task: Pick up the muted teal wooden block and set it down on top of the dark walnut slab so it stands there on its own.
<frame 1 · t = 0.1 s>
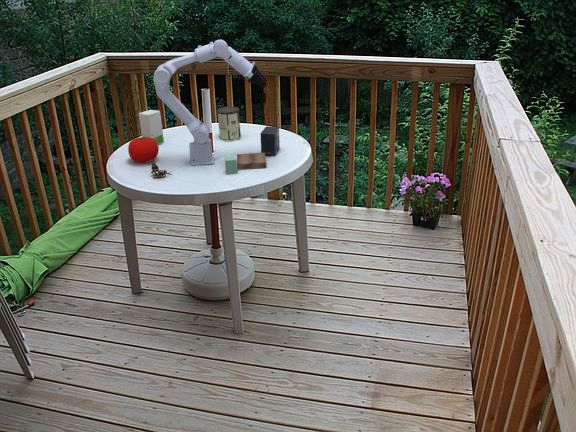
hand: (265, 84, 232), 32 cm above the table, tool tilted 50°, fingers open, 7 cm apart
walnut slab: (251, 163, 241), on the table
tomato: (145, 161, 248), on the table
teal block: (231, 172, 233), on the table
coffee can: (230, 138, 273), on the table
skincare box: (153, 144, 268), on the table
small box: (270, 152, 253), on the table
gnarled brown figurine: (161, 177, 231), on the table
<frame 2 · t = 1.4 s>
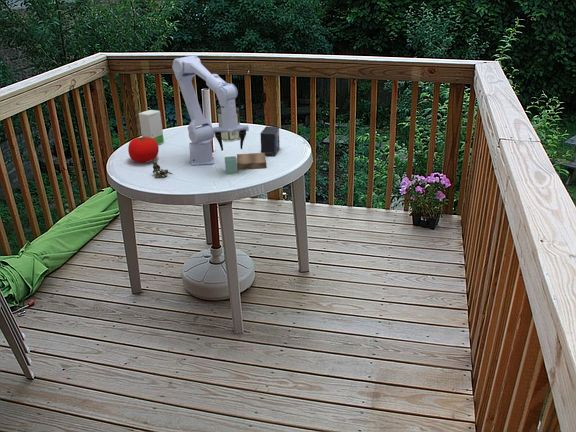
hand: (231, 149, 229), 10 cm above the table, tool pointing down, fingers open, 7 cm apart
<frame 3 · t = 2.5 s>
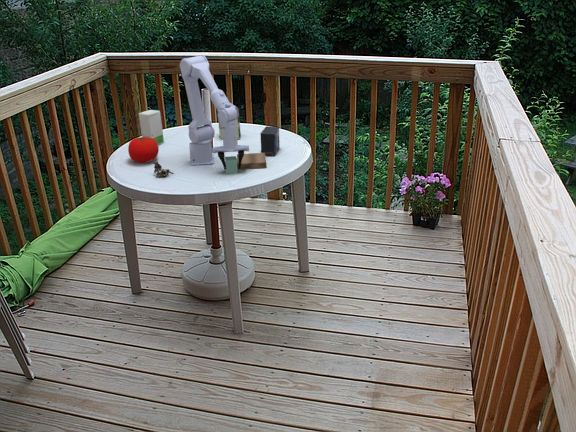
hand: (232, 168, 232), 1 cm above the table, tool pointing down, fingers open, 5 cm apart
teal block: (231, 172, 233), on the table, touching gripper
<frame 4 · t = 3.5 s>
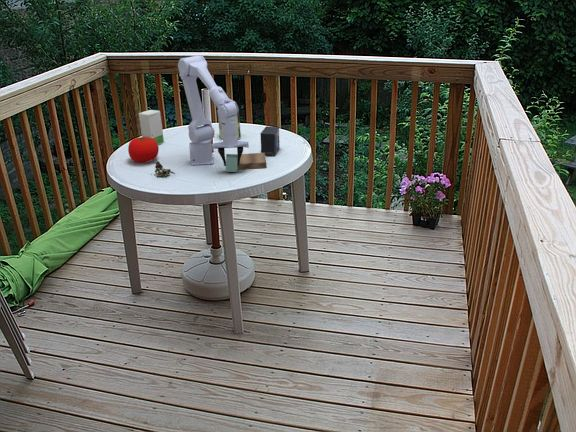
hand: (231, 164, 232), 3 cm above the table, tool pointing down, fingers closed on teal block, 5 cm apart
teal block: (231, 169, 232), point 1 cm above the table, tilted 6°, touching gripper
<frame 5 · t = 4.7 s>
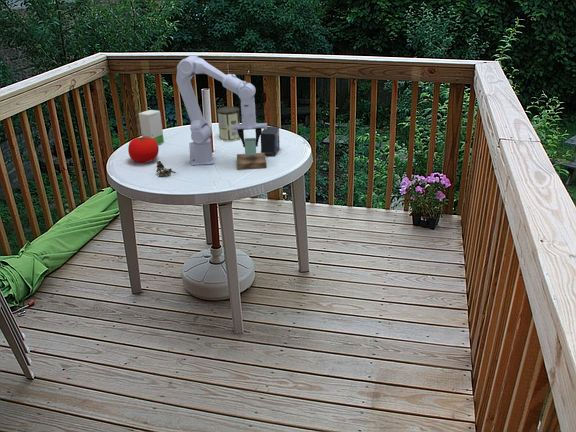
hand: (250, 146, 237), 8 cm above the table, tool pointing down, fingers closed on teal block, 5 cm apart
teal block: (250, 153, 238), point 5 cm above the table, touching gripper
when the fingers open (5 cm above the table, at t = 5.6 s): teal block stays where it is, resting on walnut slab.
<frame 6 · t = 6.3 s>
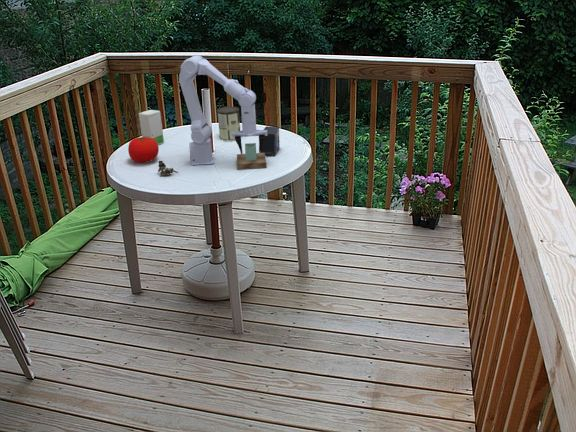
hand: (250, 152, 238), 5 cm above the table, tool pointing down, fingers open, 7 cm apart
teal block: (251, 158, 239), point 2 cm above the table, touching walnut slab
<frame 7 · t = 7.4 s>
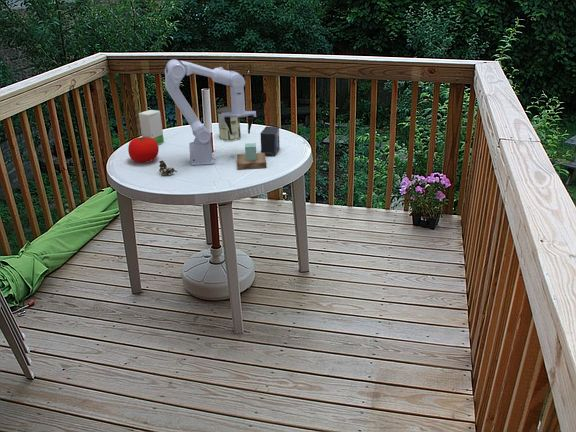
hand: (240, 133, 245), 10 cm above the table, tool pointing down, fingers open, 7 cm apart
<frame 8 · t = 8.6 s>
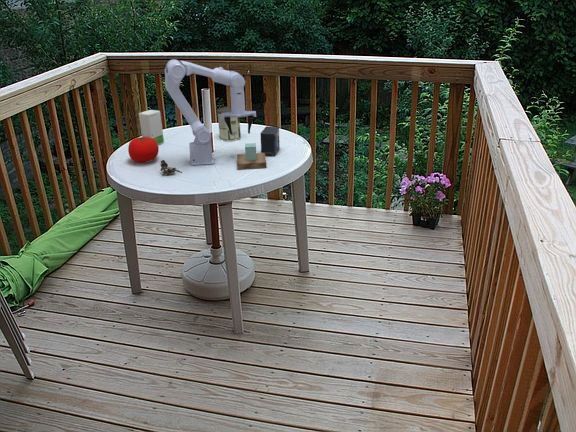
hand: (240, 133, 245), 10 cm above the table, tool pointing down, fingers open, 7 cm apart
at the end: teal block inside the target area on the walnut slab (0.6 cm from its centre), point 2.5 cm above the walnut slab's base; teal block tilted 0°; the gripper is holding nothing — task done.
